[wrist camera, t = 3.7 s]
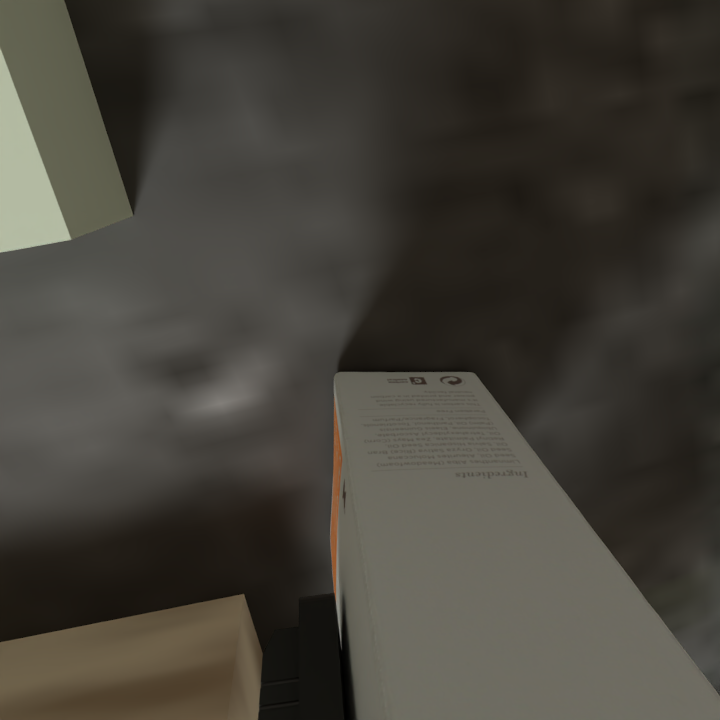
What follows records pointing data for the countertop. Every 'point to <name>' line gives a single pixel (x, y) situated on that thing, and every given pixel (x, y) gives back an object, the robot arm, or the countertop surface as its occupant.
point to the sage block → (51, 133)
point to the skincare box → (481, 572)
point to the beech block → (139, 668)
